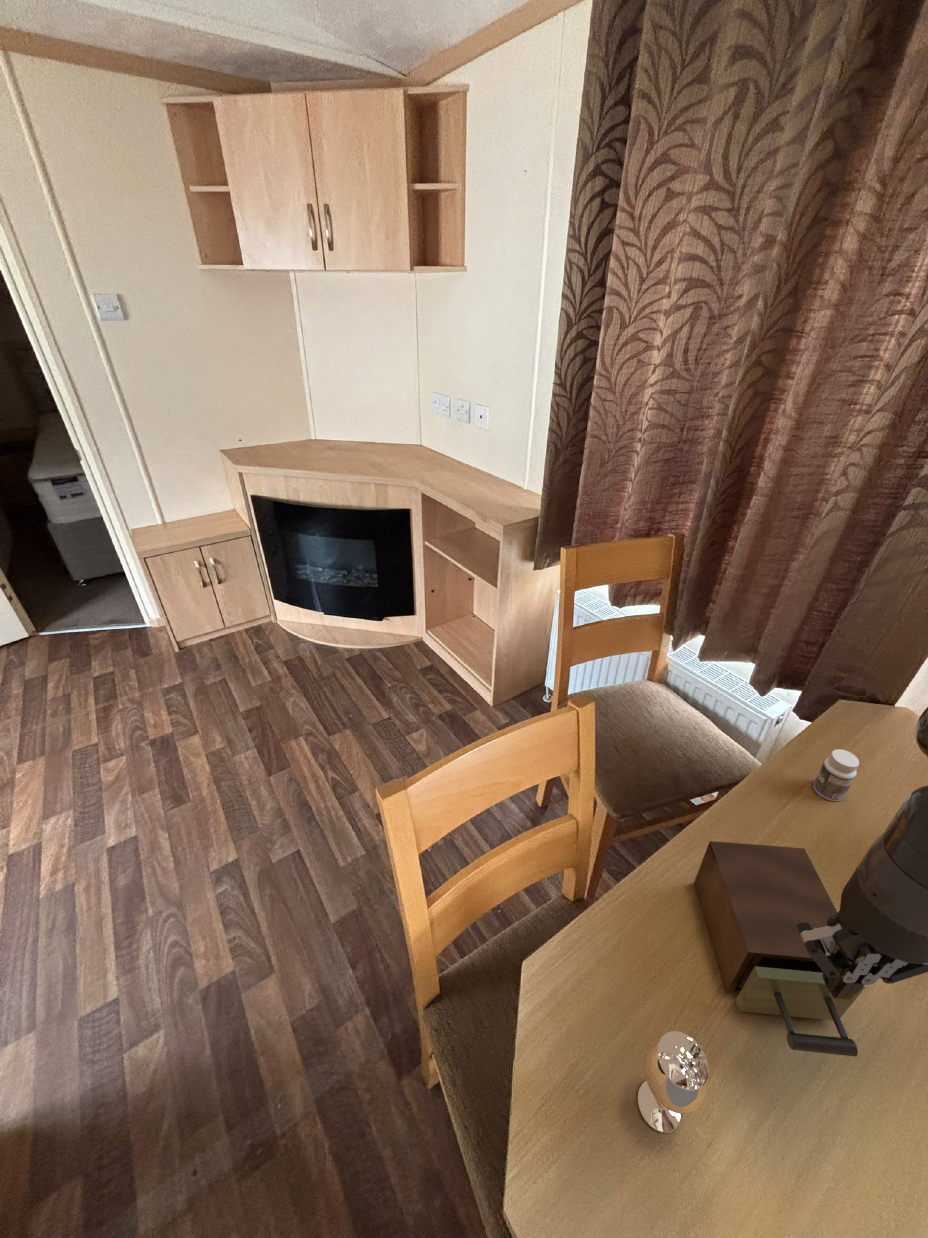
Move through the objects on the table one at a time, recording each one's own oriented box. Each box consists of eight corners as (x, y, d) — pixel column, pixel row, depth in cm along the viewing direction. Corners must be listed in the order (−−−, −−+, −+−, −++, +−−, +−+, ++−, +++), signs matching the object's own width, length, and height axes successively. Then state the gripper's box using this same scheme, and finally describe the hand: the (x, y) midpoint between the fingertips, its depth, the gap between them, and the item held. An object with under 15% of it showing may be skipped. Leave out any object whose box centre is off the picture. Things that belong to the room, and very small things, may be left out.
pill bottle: (812, 777, 95) (829, 743, 91) (843, 787, 93) (861, 753, 89) (811, 795, 92) (829, 761, 87) (843, 806, 90) (862, 772, 85)
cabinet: (831, 1004, 65) (863, 963, 59) (725, 994, 66) (748, 952, 61) (781, 890, 77) (804, 848, 72) (693, 883, 78) (709, 840, 73)
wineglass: (621, 1105, 57) (640, 1059, 51) (648, 1059, 60) (668, 1011, 54) (671, 1158, 53) (698, 1116, 47) (696, 1106, 57) (725, 1060, 50)
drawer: (862, 1078, 58) (894, 1046, 54) (755, 1066, 59) (778, 1034, 55) (789, 909, 74) (809, 874, 70) (705, 902, 75) (720, 867, 71)
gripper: (852, 929, 43) (785, 1024, 52) (1028, 945, 42) (928, 1039, 51) (809, 847, 49) (756, 945, 58) (961, 859, 48) (882, 956, 57)
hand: (836, 989), depth 54 cm, fingers closed
